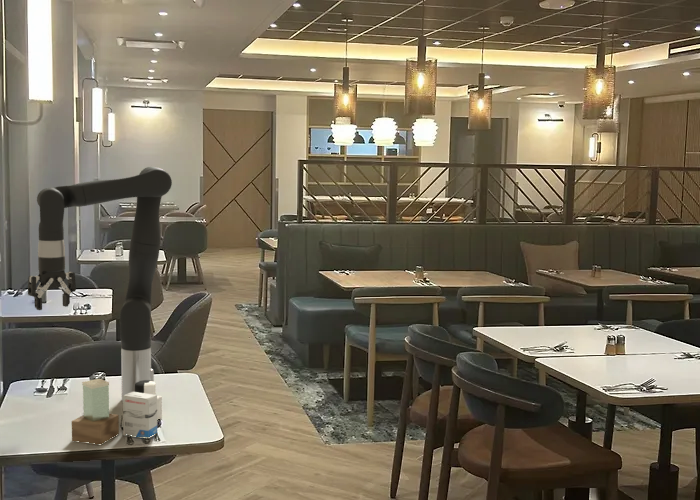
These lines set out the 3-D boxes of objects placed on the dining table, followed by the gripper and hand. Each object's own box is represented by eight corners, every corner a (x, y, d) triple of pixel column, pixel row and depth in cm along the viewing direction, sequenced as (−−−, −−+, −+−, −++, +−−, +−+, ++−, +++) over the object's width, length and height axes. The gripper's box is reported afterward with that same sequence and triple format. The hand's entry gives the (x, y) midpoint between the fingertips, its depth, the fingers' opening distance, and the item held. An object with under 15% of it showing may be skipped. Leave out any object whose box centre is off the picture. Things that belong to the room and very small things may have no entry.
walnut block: (91, 431, 227) (90, 411, 226) (118, 435, 225) (118, 414, 224) (72, 442, 219) (71, 421, 218) (100, 446, 216) (100, 424, 215)
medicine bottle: (128, 422, 234) (127, 383, 233) (142, 415, 241) (142, 377, 240) (148, 426, 232) (148, 386, 231) (162, 418, 239) (162, 380, 237)
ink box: (158, 434, 226) (158, 394, 224) (148, 440, 221) (148, 399, 220) (132, 430, 228) (132, 390, 227) (122, 435, 224) (122, 395, 222)
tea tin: (100, 413, 225) (99, 378, 224) (109, 417, 221) (109, 382, 220) (83, 417, 221) (82, 382, 220) (92, 421, 218) (91, 386, 216)
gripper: (35, 258, 230) (36, 313, 232) (79, 254, 240) (80, 306, 242) (22, 255, 234) (23, 309, 236) (66, 251, 245) (67, 303, 247)
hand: (52, 308), depth 239 cm, fingers open, 8 cm apart
